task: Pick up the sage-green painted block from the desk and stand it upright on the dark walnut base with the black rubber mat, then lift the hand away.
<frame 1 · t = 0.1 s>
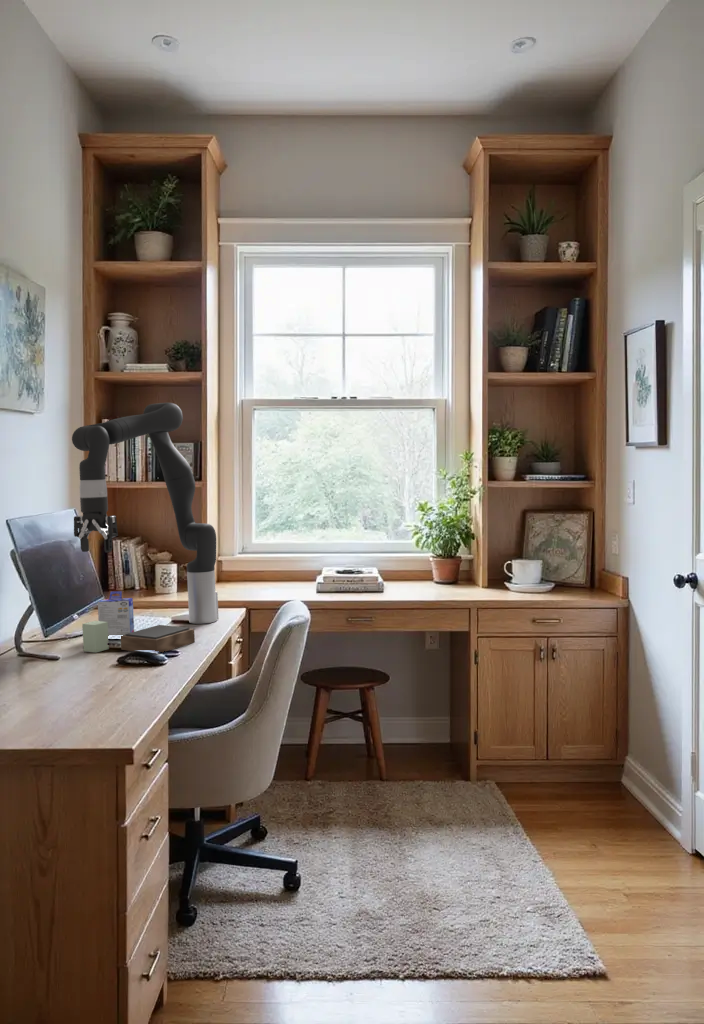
hand: (96, 551, 238), 29 cm above the table, fingers open, 8 cm apart
walnut base: (158, 645, 243), on the table
sage block: (96, 649, 241), on the table
ink cartridge box: (117, 639, 256), on the table
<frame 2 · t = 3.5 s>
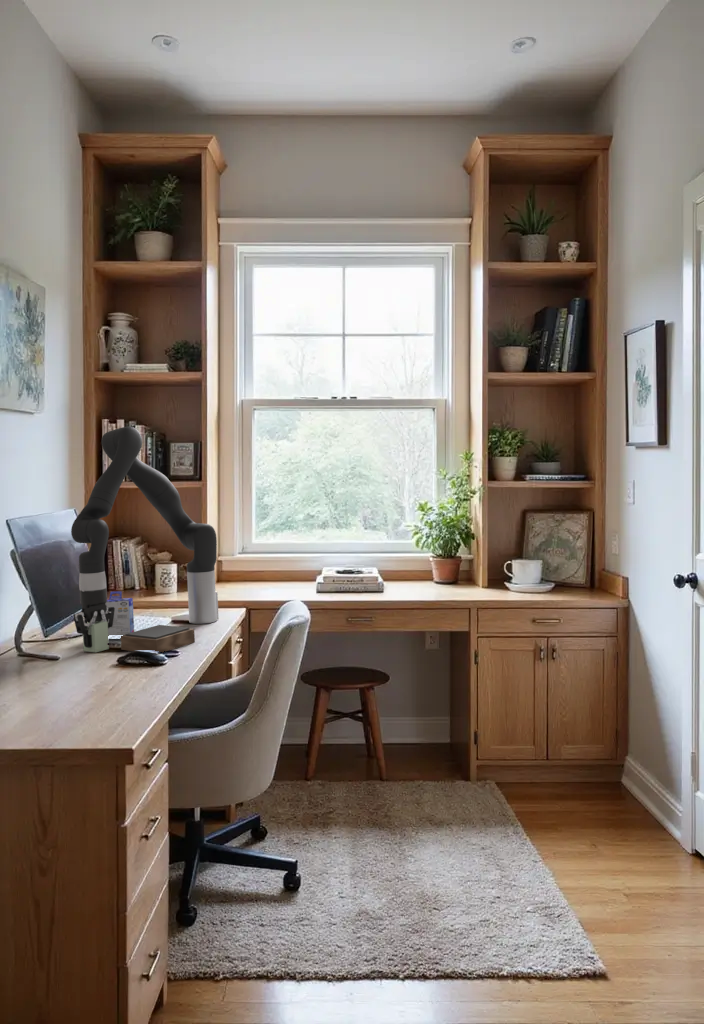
hand: (96, 644, 241), 1 cm above the table, fingers closed on sage block, 5 cm apart
sage block: (96, 649, 241), on the table, touching gripper
everything else where it was.
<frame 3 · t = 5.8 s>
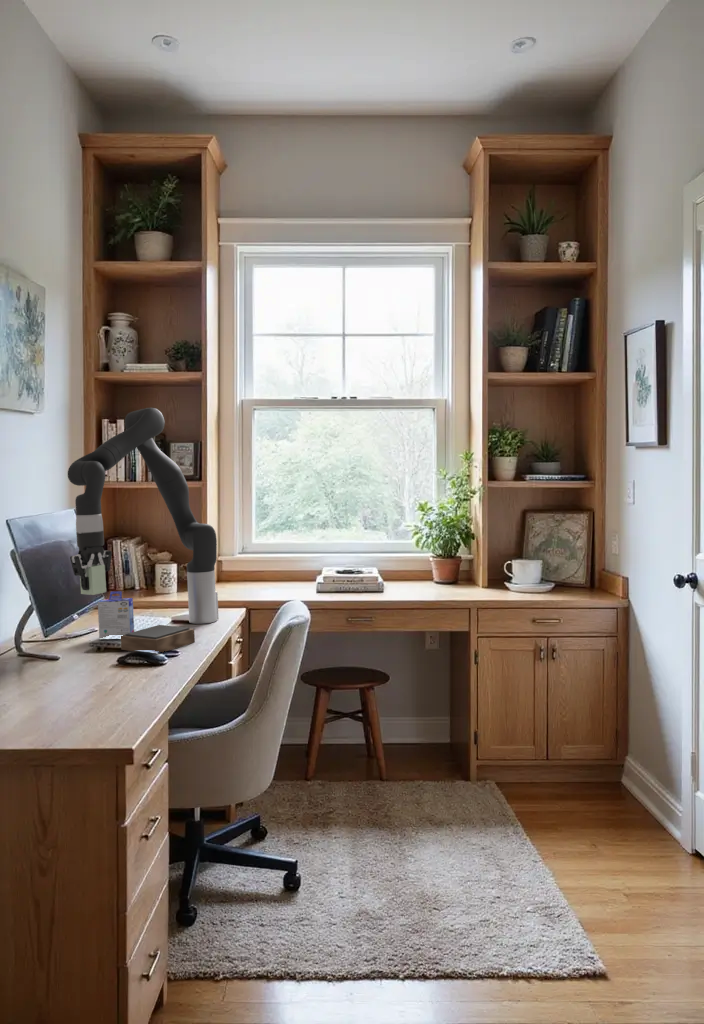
hand: (93, 588, 240), 18 cm above the table, fingers closed on sage block, 5 cm apart
sage block: (93, 593, 240), point 17 cm above the table, touching gripper
everything else where it was.
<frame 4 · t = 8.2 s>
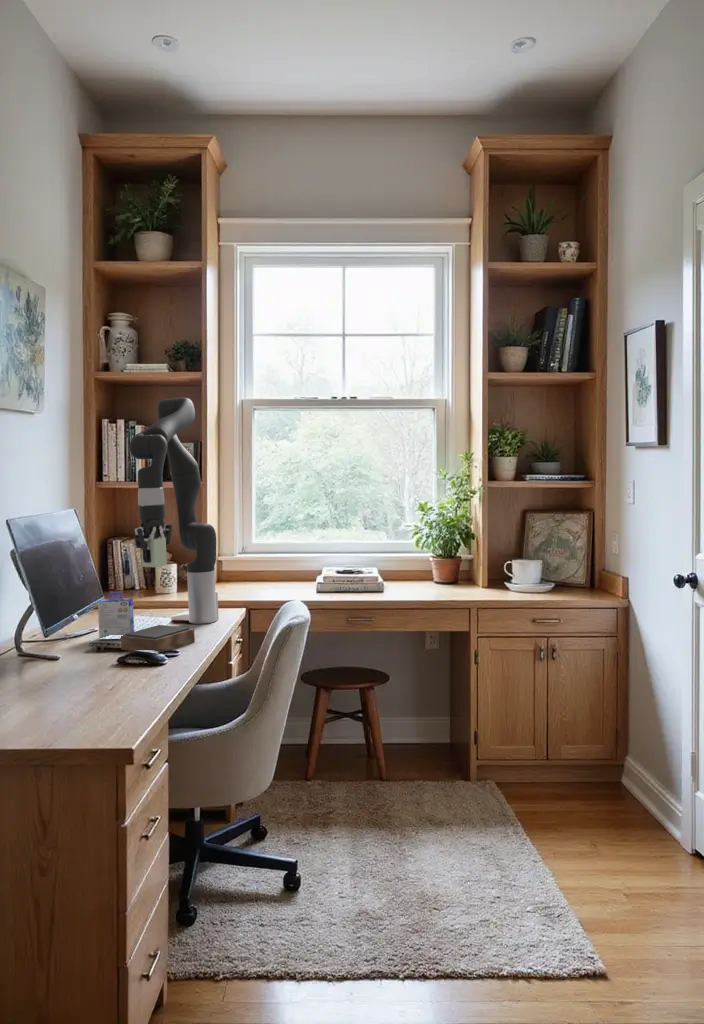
hand: (154, 561, 242), 25 cm above the table, fingers closed on sage block, 5 cm apart
sage block: (154, 565, 242), point 24 cm above the table, touching gripper
everything else where it was.
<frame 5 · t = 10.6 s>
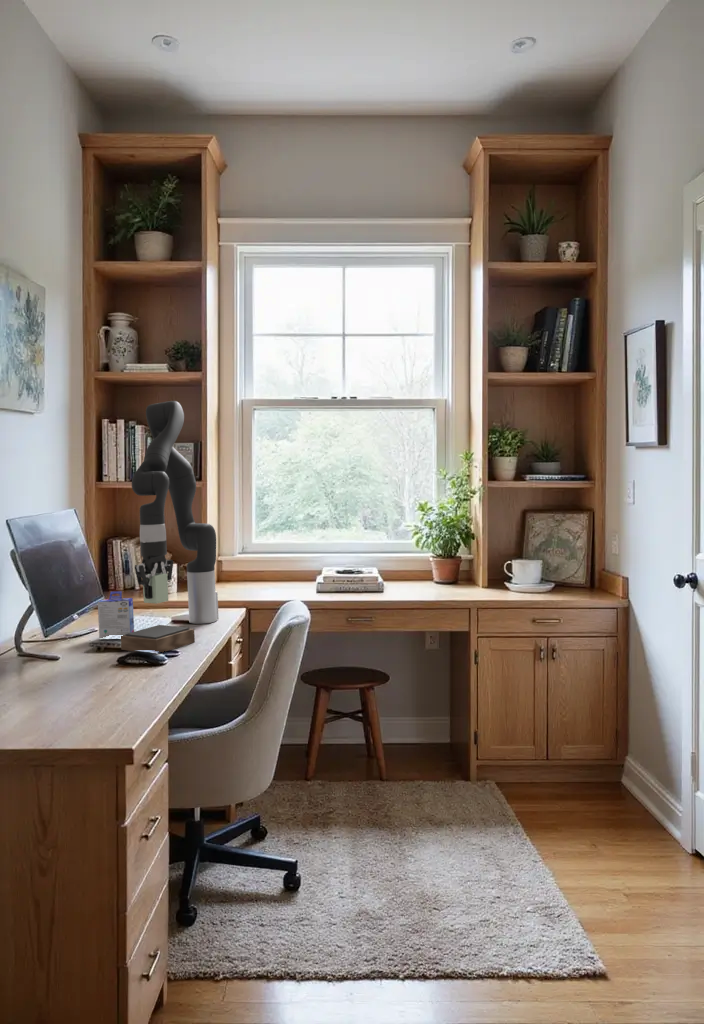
hand: (155, 596, 242), 15 cm above the table, fingers closed on sage block, 5 cm apart
sage block: (156, 601, 242), point 13 cm above the table, touching gripper
everything else where it was.
when the fingers open (7 cm above the table, at t = 12.9 s): sage block drops 1 cm, resting on walnut base.
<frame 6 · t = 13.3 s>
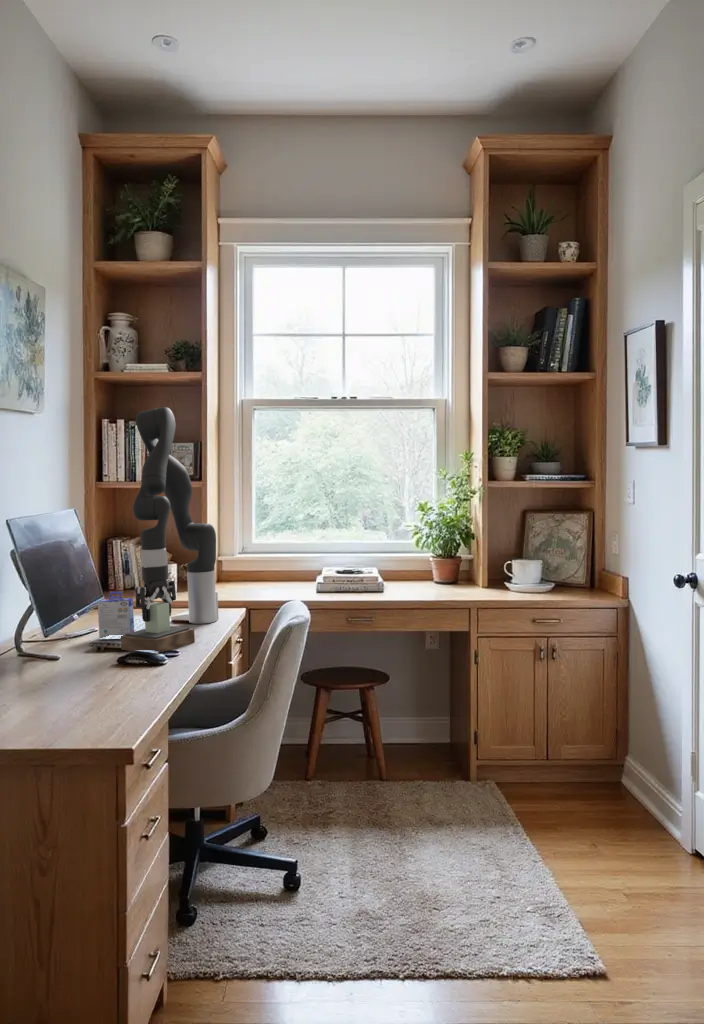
hand: (157, 618, 243), 8 cm above the table, fingers open, 8 cm apart
sage block: (157, 630, 243), point 4 cm above the table, touching walnut base
everything else where it was.
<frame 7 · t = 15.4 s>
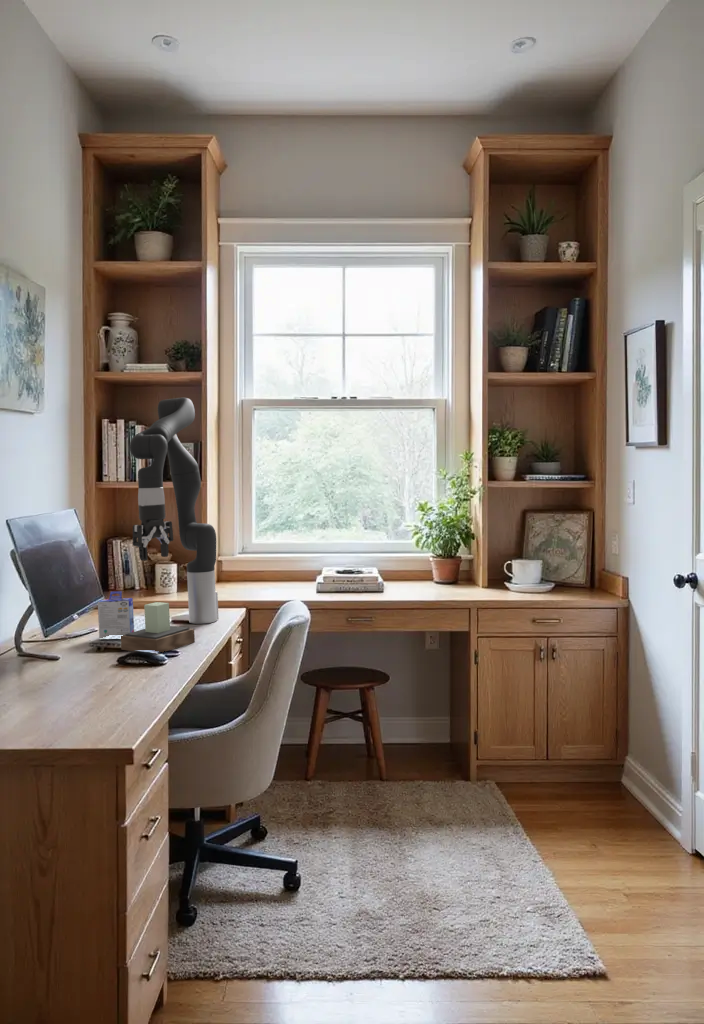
hand: (154, 558, 242), 26 cm above the table, fingers open, 8 cm apart
nothing on the table moved.
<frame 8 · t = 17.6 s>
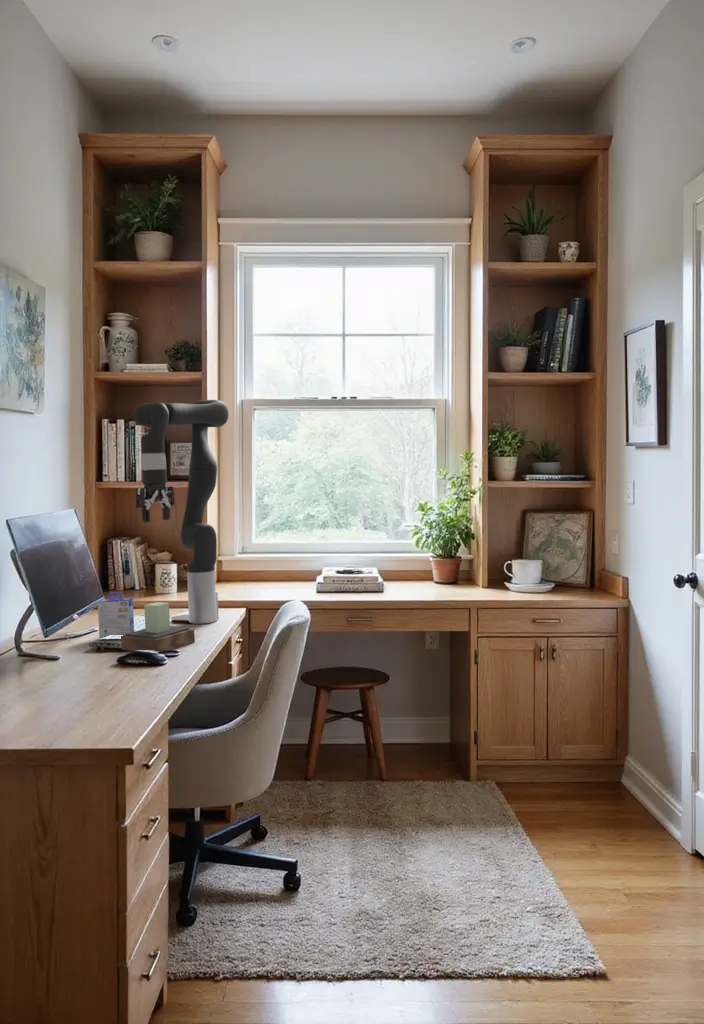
hand: (156, 521, 254), 36 cm above the table, fingers open, 8 cm apart
nothing on the table moved.
at the end: sage block inside the target area on the walnut base (0.0 cm from its centre), point 4.5 cm above the walnut base's base; sage block tilted 0°; the gripper is holding nothing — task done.
